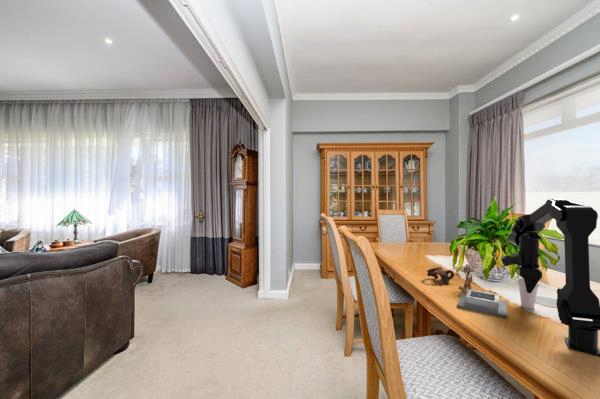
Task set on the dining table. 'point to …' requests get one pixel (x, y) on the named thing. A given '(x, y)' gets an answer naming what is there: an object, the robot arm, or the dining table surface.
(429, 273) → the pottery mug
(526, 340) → the dining table surface
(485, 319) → the dining table surface
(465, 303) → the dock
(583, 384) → the dining table surface
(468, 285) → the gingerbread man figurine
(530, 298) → the smoothie
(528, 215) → the robot arm
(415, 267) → the dining table surface
